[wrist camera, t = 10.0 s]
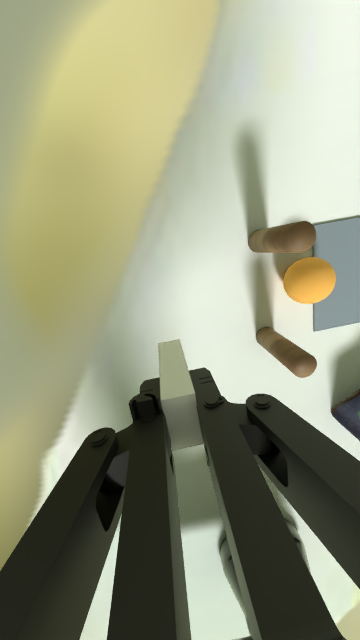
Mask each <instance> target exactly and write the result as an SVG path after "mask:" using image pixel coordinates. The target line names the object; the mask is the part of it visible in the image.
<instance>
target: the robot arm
mask: <svg viewBox="0 0 360 640" xmlns="http://www.w3.org/2000/svg"><path fill="white" fill-rule="evenodd" d="M158 352H159V374H160V378H155V379H150V380H145V381H144V382H143V383H142V385H141V386H140V394H138V395H136V396H135V397H133V398H132V399H131V400H130V402H129V407H130V411H131V415H132V418H133V423H132V424H131V425H130V426H129V427H127V428H126V429H124V430H122V431H119V432H117V433H115V430H113V429H112V428H101V429H98V430H96V431H94V432H93V433H91V434H90V435H89V436H88V437H87V438H86V439H85V440H84V442H83V443H82V445H81V446H80V448H79V449H78V451H77V453H76V454H75V456H74V457H73V459H72V460H71V462H70V463H69V465H68V467H67V468H66V470H65V471H64V473H63V474H62V476H61V477H60V479H59V481H58V482H57V484H56V485H55V487H54V488H53V490H52V491H51V493H50V495H49V496H48V498H47V499H46V501H45V502H44V504H43V505H42V507H41V509H40V510H39V512H38V513H37V515H36V516H35V518H34V519H33V521H32V523H31V524H30V526H29V527H28V529H27V530H26V532H25V533H24V535H23V537H22V538H21V540H20V541H19V543H18V544H17V546H16V548H15V549H14V551H13V552H12V554H11V555H10V557H9V558H8V560H7V562H6V563H5V565H4V566H3V568H2V570H1V571H0V640H79V639H80V636H81V633H82V630H83V627H84V624H85V621H86V618H87V615H88V612H89V609H90V606H91V603H92V600H93V597H94V594H95V591H96V588H97V585H98V582H99V579H100V576H101V573H102V570H103V567H104V564H105V561H106V558H107V555H108V552H109V549H110V546H111V543H112V540H113V537H114V534H115V531H116V528H117V525H118V522H119V519H120V516H121V513H122V517H121V526H120V534H119V542H118V551H117V559H116V568H115V576H114V584H113V593H112V601H111V610H110V618H109V626H108V635H107V640H191V632H190V622H189V611H188V601H187V591H186V581H185V571H184V560H183V550H182V540H181V530H180V520H179V510H178V499H177V489H176V479H175V469H174V460H173V455H172V451H173V450H178V449H182V448H187V447H191V446H196V445H200V444H204V447H205V452H206V458H207V464H208V466H209V468H210V472H211V476H212V480H213V484H214V488H215V492H216V496H217V500H218V504H219V508H220V512H221V516H222V520H223V524H224V528H225V532H226V536H227V537H226V538H225V540H224V541H223V543H222V546H221V550H220V556H221V561H222V566H223V570H224V573H225V576H226V578H227V580H228V582H229V584H230V586H231V588H232V590H233V592H234V594H235V596H236V598H237V600H238V602H239V604H240V606H241V608H242V611H243V613H244V615H245V618H246V622H247V625H248V629H249V633H250V636H249V637H245V638H239V639H234V640H346V639H345V638H344V637H343V636H342V635H341V633H340V632H339V630H338V629H337V627H336V625H335V623H334V621H333V619H332V617H331V615H330V613H329V611H328V609H327V607H326V605H325V603H324V601H323V598H322V596H321V594H320V592H319V590H318V588H317V586H316V584H315V582H314V580H313V578H312V576H311V572H310V568H309V564H308V560H307V555H306V551H305V547H304V544H303V542H302V540H301V538H300V536H299V534H298V532H297V530H296V528H295V527H294V525H293V524H291V523H290V522H289V521H287V520H285V519H284V518H283V516H282V514H281V512H280V510H279V507H278V505H277V503H276V501H275V499H274V497H273V495H272V493H271V491H270V489H269V487H268V485H267V483H266V481H265V479H264V476H263V474H262V472H261V470H260V468H259V466H260V467H261V468H262V470H263V471H264V472H265V473H266V475H267V476H268V477H269V478H270V480H271V481H272V482H273V483H274V484H275V486H276V487H277V488H278V489H279V491H280V492H281V493H282V494H283V496H284V497H285V498H286V499H287V500H288V502H289V503H290V504H291V505H292V507H293V508H294V509H295V510H296V511H297V513H298V514H299V515H300V516H301V518H302V519H303V520H304V521H305V523H306V524H307V525H308V526H309V527H310V529H311V530H312V531H313V532H314V534H315V535H316V536H317V537H318V539H319V540H320V541H321V542H322V543H323V545H324V546H325V547H326V548H327V550H328V551H329V552H330V553H331V554H332V556H333V557H334V558H335V559H336V561H337V562H338V563H339V564H340V566H341V567H342V568H343V569H344V570H345V572H346V573H347V574H348V575H349V577H350V578H351V579H352V580H353V582H354V583H355V584H356V585H357V586H358V588H359V589H360V461H359V460H357V459H356V458H355V457H353V456H352V455H351V454H349V453H348V452H347V451H345V450H344V449H343V448H341V447H340V446H339V445H337V444H336V443H335V442H333V441H332V440H331V439H329V438H328V437H327V436H325V435H324V434H323V433H321V432H320V431H319V430H317V429H316V428H315V427H313V426H312V425H311V424H309V423H308V422H307V421H305V420H304V419H303V418H301V417H300V416H299V415H297V414H296V413H295V412H293V411H292V410H291V409H289V408H288V407H287V406H285V405H284V404H283V403H281V402H280V401H278V400H277V399H276V398H274V397H272V396H271V395H267V394H255V395H252V396H250V397H248V399H247V400H246V404H235V403H230V402H228V401H227V400H226V399H225V398H224V397H223V396H221V394H220V392H219V390H218V388H217V386H216V384H215V381H214V379H213V377H212V375H211V373H210V371H209V370H207V369H206V368H200V369H195V370H190V371H188V367H187V364H186V360H185V357H184V353H183V350H182V346H181V343H180V340H174V341H169V342H164V343H159V344H158ZM171 448H172V450H171ZM258 465H259V466H258Z"/></svg>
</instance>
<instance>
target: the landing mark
mask: <svg viewBox="0 0 360 640" xmlns="http://www.w3.org/2000/svg"><path fill="white" fill-rule="evenodd" d="M314 227H315V230H316V240H315V243H314V245H313V257H317V258H321V259H323V260H325V261H327V262H328V263H329V264H330V265H331V266H332V267H333V269H334V271H335V274H336V283H335V286H334V289H333V290H332V292H331V293H330V294H329V295H328V296H327V297H326V298H325V299H323V300H321V301H319V302H316V303H313V317H314V332H315V331H320V330H324V329H329V328H334V327H339V326H344V325H349V324H354V323H359V322H360V217H358V218H353V219H347V220H341V221H336V222H330V223H325V224H319V225H314Z"/></svg>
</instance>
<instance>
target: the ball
mask: <svg viewBox="0 0 360 640" xmlns="http://www.w3.org/2000/svg"><path fill="white" fill-rule="evenodd" d="M335 283H336V274H335V271H334V269H333V267H332V266H331V265H330V264H329V263H328V262H327V261H325V260H323V259H321V258H317V257H306V258H302V259H300V260H298V261H296V262H294V263H293V264H292V265H291V266H290V267H289V268H288V269H287V271H286V273H285V275H284V280H283V285H284V289H285V291H286V293H287V295H288V296H289V297H290V298H291V299H293V300H294V301H296V302H299V303H303V304H312V303H316V302H319V301H321V300H323V299H325V298H326V297H327V296H328V295H329V294H330V293H331V292H332V290H333V289H334V286H335Z"/></svg>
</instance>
